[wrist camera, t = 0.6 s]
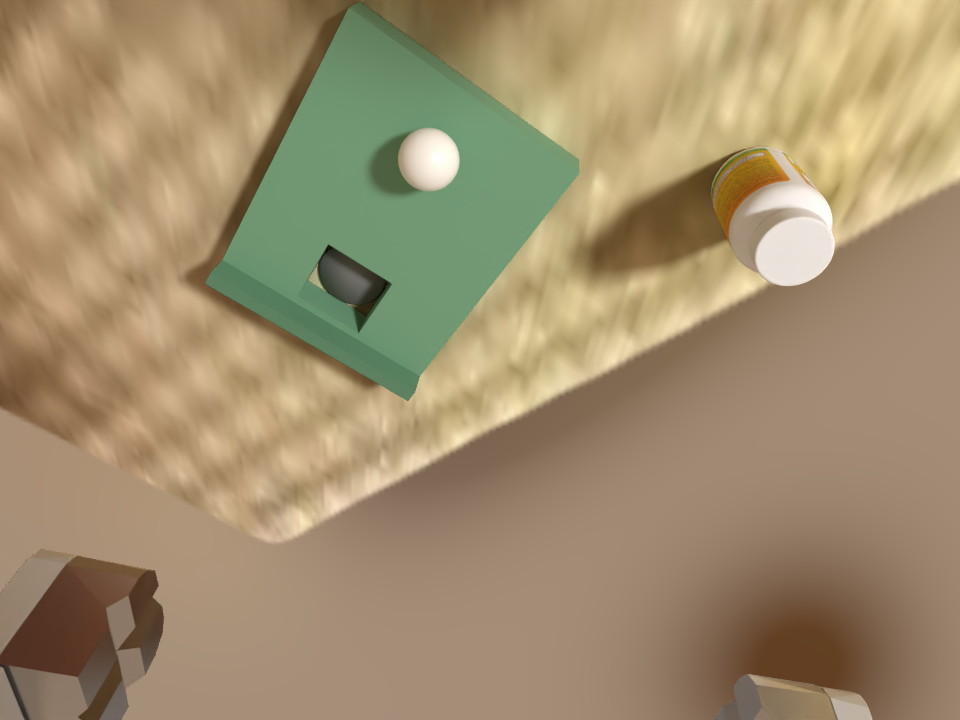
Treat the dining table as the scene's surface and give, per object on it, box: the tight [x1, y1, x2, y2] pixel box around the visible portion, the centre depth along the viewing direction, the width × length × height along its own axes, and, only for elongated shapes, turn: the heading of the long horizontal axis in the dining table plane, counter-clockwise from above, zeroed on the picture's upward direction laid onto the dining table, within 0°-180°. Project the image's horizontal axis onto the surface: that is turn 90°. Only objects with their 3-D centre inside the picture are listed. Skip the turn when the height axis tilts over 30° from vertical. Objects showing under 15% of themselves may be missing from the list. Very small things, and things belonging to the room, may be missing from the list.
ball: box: [398, 128, 460, 191], centre depth 42 cm, size 4×4×4 cm
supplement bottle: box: [711, 147, 835, 286], centre depth 41 cm, size 5×5×10 cm
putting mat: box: [205, 2, 579, 401], centre depth 46 cm, size 20×16×4 cm
